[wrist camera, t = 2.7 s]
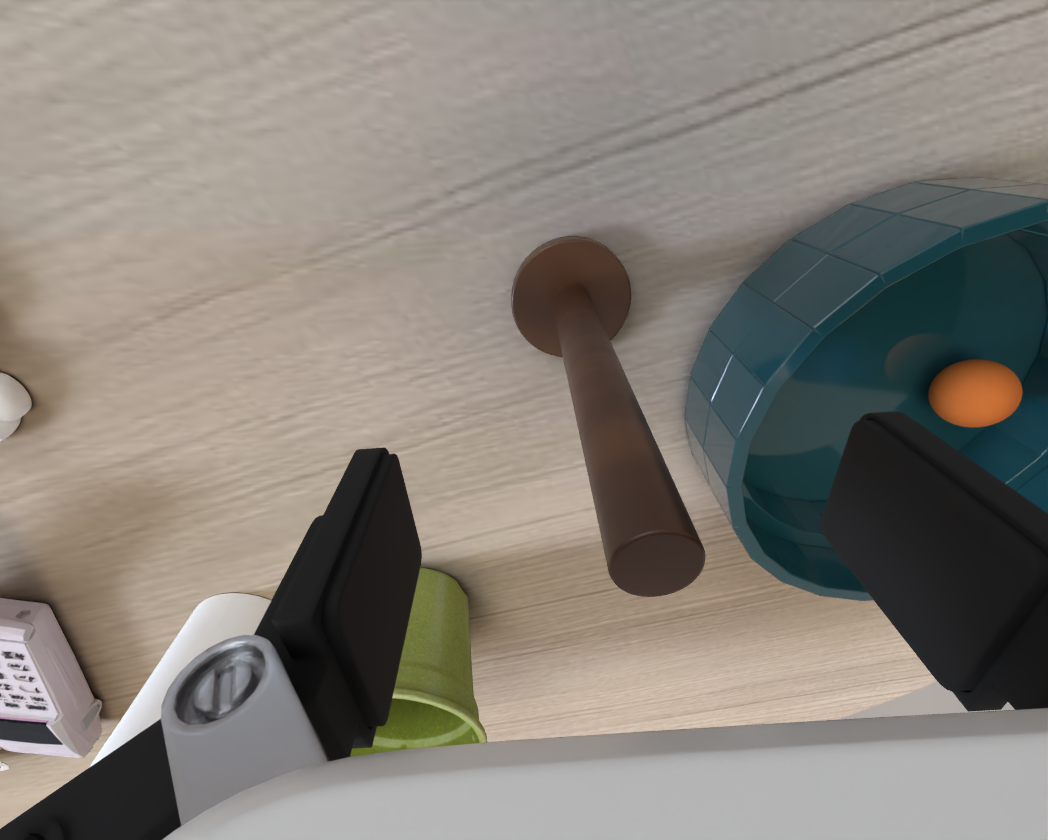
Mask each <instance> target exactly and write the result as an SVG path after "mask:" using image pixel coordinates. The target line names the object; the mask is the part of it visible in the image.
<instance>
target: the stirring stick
mask: <svg viewBox="0 0 1048 840" xmlns="http://www.w3.org/2000/svg"><path fill="white" fill-rule="evenodd" d="M630 301H631V288H630V282H629V279H628V275H627V273H626V271H625V269H624V267H623V265H622V264H621V262H620V261H619V260H618V258H617V257H616V256H615V255H614V254H613V253H612V252H611V251H610V250H609V249H608V248H607V247H605V246H604V245H602V244H601V243H599V242H597V241H594V240H592V239H588V238H585V237H578V236H568V237H561V238H557V239H554V240H551V241H549V242H546V243H544V244H543V245H541V246H539V247H538V248H537V249H535V250H534V251H533V252H532V253H531V254H530V255H529V256H528V257H527V258H526V259H525V260H524V262H523V263H522V264H521V266H520V268H519V270H518V271H517V274H516V276H515V279H514V283H513V287H512V312H513V316H514V320H515V322H516V325H517V327H518V329H519V330H520V332H521V334H522V335H523V336H524V337H525V339H526V340H527V341H528V342H530V343H531V344H532V345H533V346H535V347H536V348H537V349H539V350H541V351H543V352H545V353H548V354H551V355H555V356H560V357H563V359H564V363H565V368H566V373H567V377H568V382H569V387H570V392H571V396H572V401H573V406H574V410H575V415H576V420H577V425H578V429H579V434H580V439H581V443H582V448H583V453H584V457H585V462H586V467H587V472H588V476H589V481H590V486H591V490H592V495H593V500H594V505H595V509H596V514H597V519H598V523H599V528H600V533H601V538H602V542H603V547H604V552H605V556H606V561H607V566H608V571H609V574H610V577H611V579H612V580H613V581H614V583H615V584H616V585H617V586H618V587H619V588H621V589H622V590H624V591H626V592H628V593H630V594H633V595H637V596H645V597H655V596H662V595H667V594H671V593H674V592H676V591H679V590H681V589H683V588H684V587H686V586H688V585H689V584H690V583H692V582H693V581H694V580H695V579H696V578H697V577H698V576H699V574H700V573H701V571H702V569H703V567H704V563H705V551H704V548H703V545H702V543H701V541H700V539H699V537H698V534H697V532H696V530H695V528H694V525H693V523H692V521H691V519H690V517H689V514H688V512H687V510H686V508H685V506H684V503H683V501H682V499H681V497H680V494H679V492H678V490H677V488H676V486H675V483H674V481H673V479H672V477H671V475H670V472H669V470H668V468H667V466H666V463H665V461H664V459H663V457H662V455H661V452H660V450H659V448H658V446H657V444H656V441H655V439H654V437H653V435H652V432H651V430H650V428H649V426H648V424H647V421H646V419H645V417H644V415H643V413H642V410H641V408H640V406H639V404H638V401H637V399H636V397H635V395H634V393H633V390H632V388H631V386H630V384H629V382H628V379H627V377H626V375H625V373H624V370H623V368H622V366H621V364H620V362H619V359H618V357H617V355H616V353H615V351H614V348H613V346H612V344H611V342H610V340H611V339H612V338H613V337H614V336H615V335H616V334H617V333H618V331H619V330H620V328H621V327H622V325H623V323H624V322H625V320H626V317H627V315H628V311H629V307H630Z"/></svg>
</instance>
